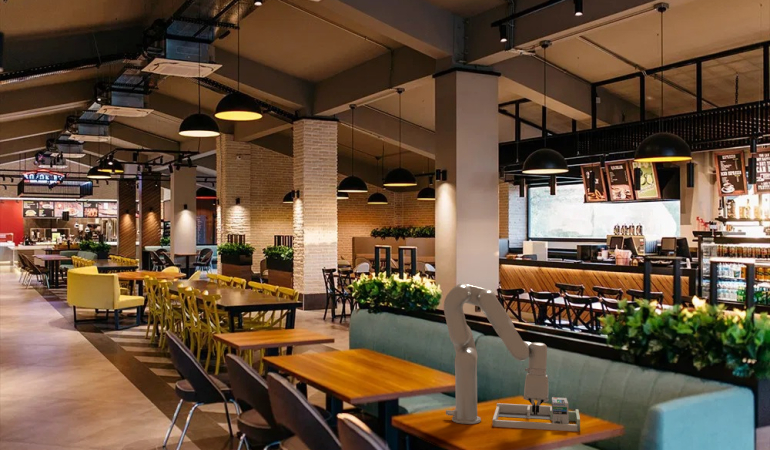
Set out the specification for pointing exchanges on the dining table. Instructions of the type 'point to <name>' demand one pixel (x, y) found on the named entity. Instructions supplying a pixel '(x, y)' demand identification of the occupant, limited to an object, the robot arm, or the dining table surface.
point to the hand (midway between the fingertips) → (535, 413)
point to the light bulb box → (560, 410)
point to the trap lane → (532, 417)
